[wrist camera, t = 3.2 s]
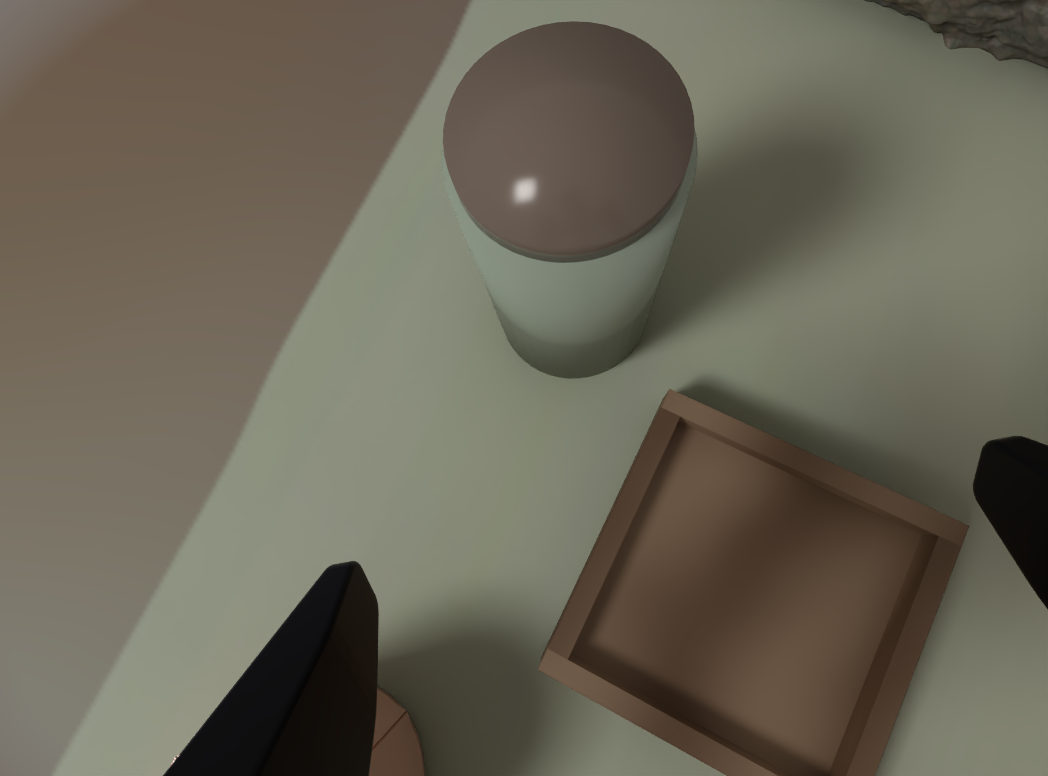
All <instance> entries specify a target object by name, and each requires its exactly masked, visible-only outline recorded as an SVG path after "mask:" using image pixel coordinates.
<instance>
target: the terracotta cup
mask: <svg viewBox="0 0 1048 776" xmlns="http://www.w3.org/2000/svg"><path fill="white" fill-rule="evenodd" d="M179 755H180V754H179ZM179 755H177V757H178V756H179ZM177 757H175V758H174V760H173V762H174V761H175V760H176V758H177ZM173 762H172V764H173ZM172 764H171V765H172ZM369 776H425V765H424V755H423V750H422V745H421V742H420V739H419V736H418V732H417V730H416V728H415V726H414V724H413V722H412V720H411V719H410V717H409V715H408V712H406V710H405V709H404V708H403V707H402V706H401V705H400V704H399V702H398V701H396V700H395V699H394V698H393V697H392V696H391V695H390V694H388V693H387V692H386V691H384V690H383V689H381V688H380V687H378V686H377V709H376V722H375V732H374V740H373V747H372V755H371V763H370V771H369Z"/></svg>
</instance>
